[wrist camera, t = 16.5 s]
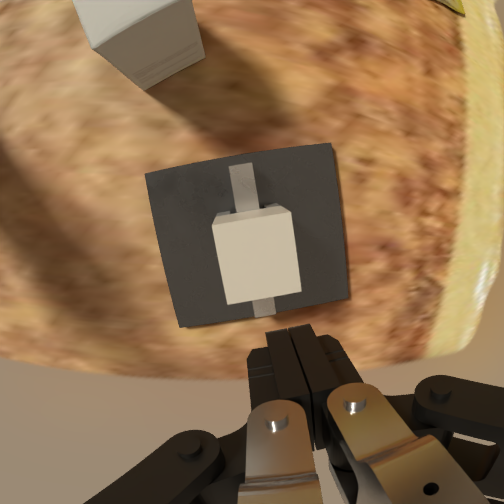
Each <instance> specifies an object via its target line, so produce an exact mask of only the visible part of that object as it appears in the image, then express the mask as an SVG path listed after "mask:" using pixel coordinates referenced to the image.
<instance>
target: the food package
mask: <svg viewBox="0 0 504 504" xmlns="http://www.w3.org/2000/svg"><path fill="white" fill-rule="evenodd" d="M436 1H438V2H441V3H443V4H445V5H447V6H448V7H450V8H452V9H454V10H455V11H457V12H459V13H462V14H465V12H464V9H463V5H462V1H461V0H436Z"/></svg>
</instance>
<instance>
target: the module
mask: <svg viewBox="0 0 504 504" xmlns="http://www.w3.org/2000/svg"><path fill="white" fill-rule="evenodd" d="M212 230H213V235H214V240H215V245H216V251H217V256H218V261H219V266H220V271H221V276H222V281H223V285H224V290H225V295H226V300H227V305H229V304H235V303H241V302H246V301H252V300H258V299H263V298H269V297H275V296H280V295H285V294H291V293H296V292H301V283H300V275H299V267H298V259H297V252H296V244H295V237H294V230H293V223H292V216H291V212H290V211H289V210H287V209H285V208H284V207H282V206H280V205H279V204H277V203H273V204H267V205H264V208H263V209H257V210H251V211H245V212H239V213H234V214H230V211H226V212H220V213H217V215H216V217H215V219H214V221H213V224H212Z"/></svg>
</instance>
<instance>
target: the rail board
mask: <svg viewBox="0 0 504 504" xmlns="http://www.w3.org/2000/svg"><path fill="white" fill-rule="evenodd" d="M145 179H146V184H147V190H148V195H149V200H150V205H151V211H152V216H153V220H154V225H155V230H156V235H157V239H158V244H159V248H160V253H161V257H162V261H163V266H164V270H165V274H166V278H167V282H168V286H169V290H170V294H171V298H172V302H173V306H174V309H175V313H176V317H177V320H178V324H179V327H180V328H183V327H190V326H197V325H204V324H210V323H217V322H223V321H230V320H236V319H242V318H248V317H254V316H255V318H257V317H263V316H269V315H274V314H276V312H281V311H287V310H292V309H297V308H302V307H307V306H312V305H317V304H322V303H327V302H332V301H337V300H341V299H346V298H348V285H347V271H346V258H345V247H344V237H343V227H342V218H341V209H340V201H339V193H338V186H337V178H336V171H335V164H334V158H333V152H332V145H331V143H323V144H314V145H305V146H297V147H289V148H281V149H274V150H267V151H260V152H254V153H247V154H241V155H235V156H229V157H224V158H218V159H212V160H207V161H202V162H197V163H192V164H187V165H182V166H177V167H173V168H168V169H163V170H159V171H155V172H150V173H146V174H145ZM273 203H277V204H279V205H280V206H282V207H284V208H285V209H287V210H289V211H290V212H291V216H292V223H293V230H294V237H295V244H296V252H297V259H298V267H299V275H300V283H301V292H296V293H291V294H285V295H280V296H275V297H269V298H263V299H258V300H252V301H246V302H241V303H235V304H229V305H227V300H226V295H225V290H224V285H223V281H222V276H221V271H220V266H219V261H218V256H217V251H216V245H215V240H214V235H213V230H212V224H213V221H214V219H215V217H216V215H217V213H220V212H226V211H230V214H234V213H239V212H245V211H251V210H257V209H263V208H264V205H267V204H273Z"/></svg>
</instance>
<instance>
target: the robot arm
mask: <svg viewBox="0 0 504 504" xmlns="http://www.w3.org/2000/svg"><path fill="white" fill-rule="evenodd" d="M265 334H266V340H267V346H268V347H263V348H257V349H252V351H251V352H250V354H249V356H248V358H247V368H248V378H249V389H250V399H251V413H250V415H249V417H248V421H247V423H246V424H245V425H244V426H243V427H242V428H240V429H239V430H237V431H235V432H233V433H231V434H228V435H226V436H223V437H220V438H216V437H215V436H214V435H213V434H211V433H209V432H206V431H202V430H189V431H184V432H181V433H178V434H176V435H174V436H173V437H171V438H170V439H169V440H167V441H166V442H165V443H164V444H163V445H161V446H160V447H159V448H158V449H156V450H155V451H154V452H153V453H151V454H150V455H149V456H147V457H146V458H145V459H144V460H142V461H141V462H140V463H139V464H137V465H136V466H135V467H133V468H132V469H131V470H129V471H128V472H127V473H125V474H124V475H123V476H121V477H120V478H119V479H117V480H116V481H115V482H113V483H112V484H110V485H109V486H108V487H106V488H105V489H103V490H102V491H101V492H99V493H98V494H97V495H95V496H93V497H92V498H91V499H89V500H88V501H86V502H85V503H84V504H323V500H322V495H321V488H320V483H319V478H318V475H317V474H316V470H315V464H314V459H313V453H312V451H314V443H315V446H316V449H317V450H320V449H324V448H326V450H327V453H328V456H329V469H330V472H331V474H332V476H333V478H334V481H335V483H336V485H337V487H338V490H339V492H340V494H341V496H342V499H343V501H344V503H345V504H504V502H502V501H498V500H494V499H489V498H486V497H485V496H484V495H486V496H491V497H495V498H500V499H504V388H502V387H498V386H493V385H488V384H483V383H478V382H474V381H469V380H464V379H460V378H456V377H451V376H446V375H436V376H431V377H428V378H426V379H424V380H422V381H421V382H420V383H419V384H418V385H417V386H416V388H415V393H414V394H408V395H398V396H386V395H383V394H382V393H381V392H380V391H379V390H378V389H377V388H376V387H374V386H372V385H370V384H366V383H364V382H363V380H362V379H361V377H360V375H359V374H358V372H357V370H356V369H355V367H354V365H353V364H352V362H351V361H350V359H349V358H348V356H347V354H346V352H345V351H344V350H343V348H342V346H341V344H340V343H339V341H338V340H337V339H335V338H333V337H331V336H330V335H328V334H327V335H322V336H318V337H316V335H315V333H314V331H313V329H312V327H311V325H310V324H305V325H300V326H295V327H290V328H288V330H287V328H286V329H281V330H275V331H270V332H265ZM454 432H455V433H459V434H463V435H467V436H471V437H474V438H478V439H483V440H487V441H492V442H494V443H496V444H495V445H491V446H487V445H483V444H478V443H475V442H471V441H466V440H463V439H459V438H456V437H453V434H454Z"/></svg>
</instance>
